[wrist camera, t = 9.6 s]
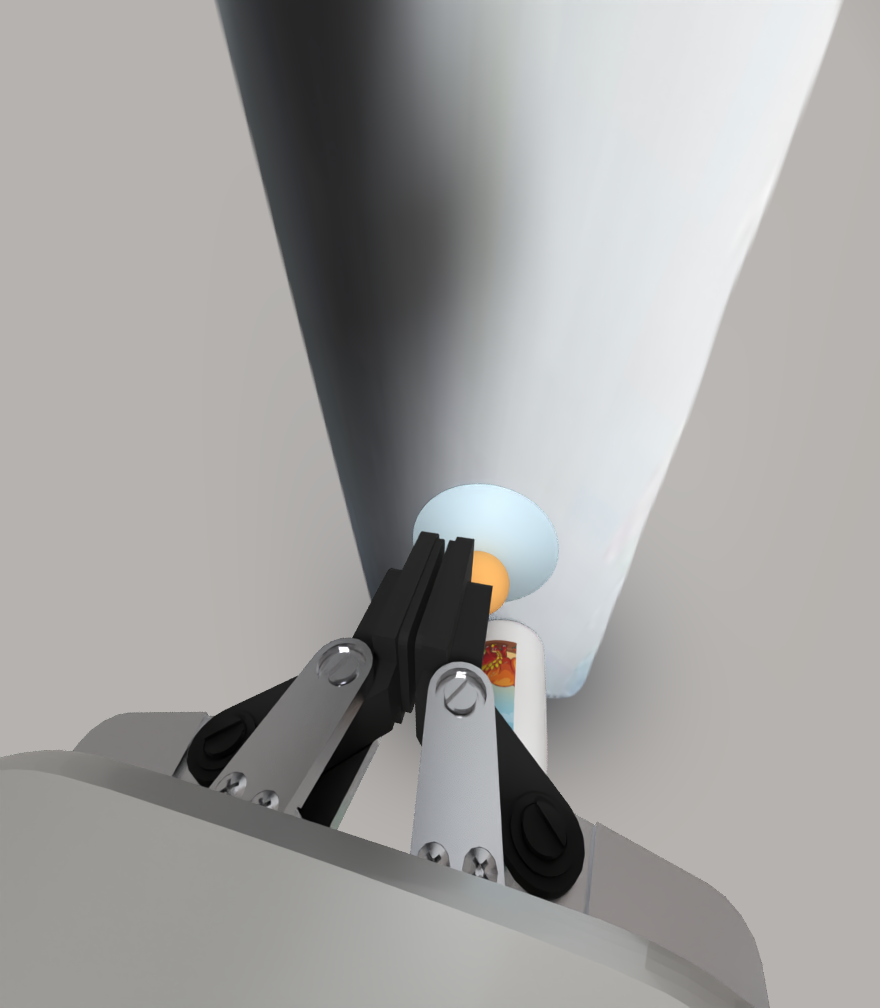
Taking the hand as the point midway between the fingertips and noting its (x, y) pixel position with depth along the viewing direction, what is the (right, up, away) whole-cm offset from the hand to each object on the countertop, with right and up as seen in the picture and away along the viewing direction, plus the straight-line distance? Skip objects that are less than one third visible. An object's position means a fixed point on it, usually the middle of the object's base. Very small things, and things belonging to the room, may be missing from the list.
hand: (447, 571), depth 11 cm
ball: (+3, -5, +19) cm, 20 cm away
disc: (+4, -2, +20) cm, 21 cm away
